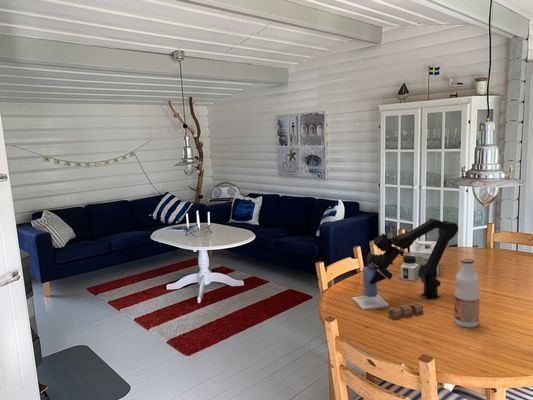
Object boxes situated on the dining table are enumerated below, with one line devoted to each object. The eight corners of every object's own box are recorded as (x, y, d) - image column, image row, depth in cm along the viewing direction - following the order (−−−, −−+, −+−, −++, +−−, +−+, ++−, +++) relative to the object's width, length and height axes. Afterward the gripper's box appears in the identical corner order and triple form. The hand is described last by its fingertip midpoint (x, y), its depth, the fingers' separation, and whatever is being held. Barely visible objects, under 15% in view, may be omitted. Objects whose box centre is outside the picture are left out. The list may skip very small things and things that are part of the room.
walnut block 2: (412, 316, 182) (412, 308, 181) (404, 318, 181) (404, 309, 180) (407, 313, 186) (407, 304, 185) (399, 314, 185) (399, 305, 184)
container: (414, 281, 224) (414, 258, 222) (400, 279, 228) (400, 256, 226) (418, 277, 230) (418, 254, 228) (405, 274, 234) (404, 253, 233)
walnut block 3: (423, 314, 184) (423, 305, 183) (416, 316, 182) (416, 307, 182) (416, 310, 187) (416, 302, 187) (409, 312, 186) (409, 304, 185)
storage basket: (440, 277, 227) (440, 252, 225) (409, 275, 233) (409, 250, 231) (438, 264, 249) (438, 241, 247) (410, 263, 255) (410, 240, 253)
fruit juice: (470, 330, 166) (471, 264, 162) (449, 322, 174) (450, 259, 170) (483, 323, 171) (484, 259, 167) (462, 316, 179) (463, 254, 175)
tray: (377, 296, 206) (377, 294, 206) (389, 307, 193) (389, 304, 193) (352, 299, 204) (352, 297, 204) (362, 310, 191) (362, 308, 191)
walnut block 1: (401, 317, 182) (401, 309, 181) (396, 320, 179) (396, 311, 179) (394, 314, 185) (394, 306, 184) (388, 317, 182) (388, 309, 182)
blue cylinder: (379, 293, 198) (379, 268, 196) (372, 297, 193) (371, 271, 191) (368, 290, 202) (367, 265, 200) (360, 294, 198) (360, 269, 196)
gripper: (369, 242, 204) (348, 265, 204) (385, 252, 186) (363, 277, 186) (384, 255, 206) (364, 278, 206) (401, 266, 188) (379, 292, 188)
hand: (367, 281), depth 197 cm, fingers closed on blue cylinder, 6 cm apart
